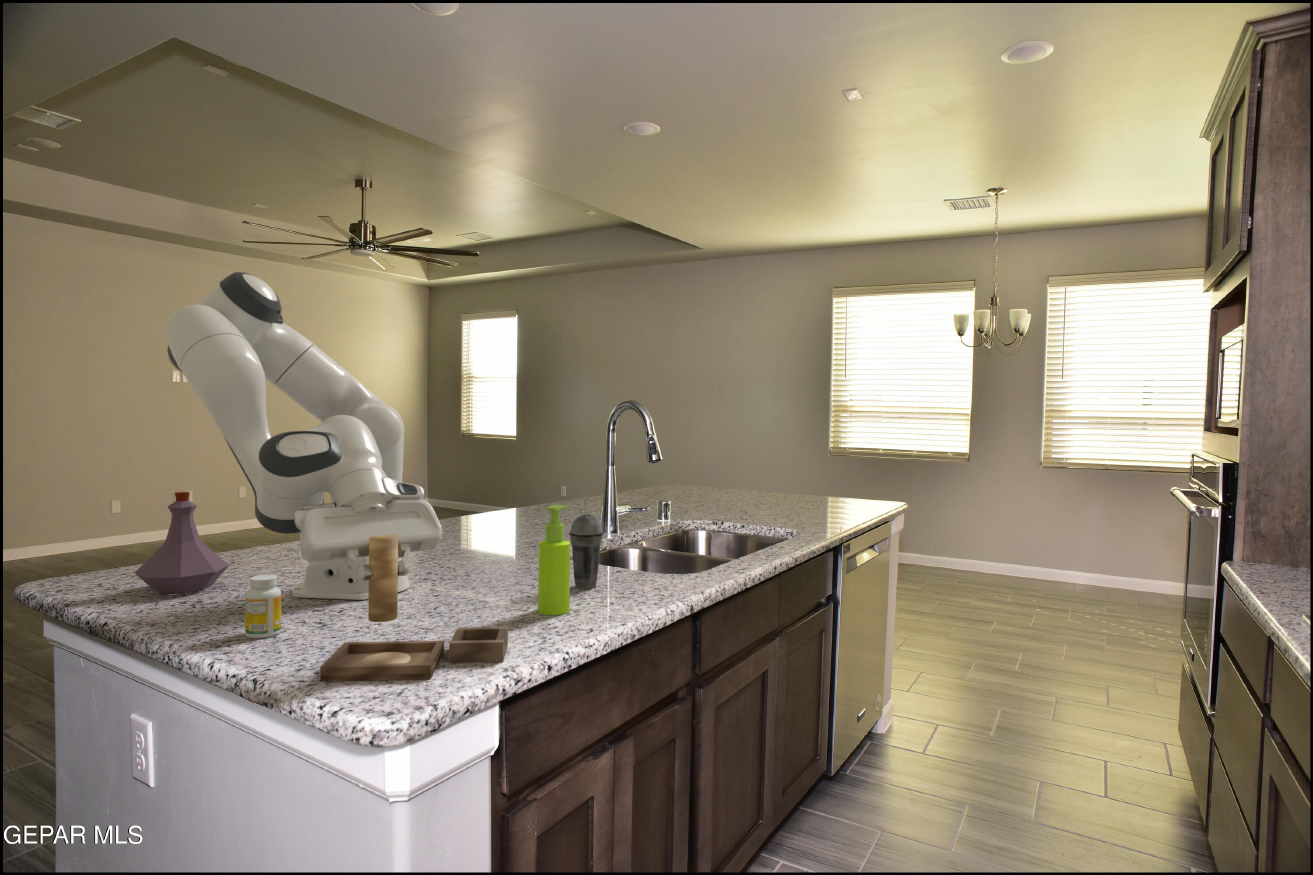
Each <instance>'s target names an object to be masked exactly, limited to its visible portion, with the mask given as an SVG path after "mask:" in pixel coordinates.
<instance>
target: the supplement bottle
mask: <svg viewBox="0 0 1313 875" xmlns="http://www.w3.org/2000/svg"><path fill="white" fill-rule="evenodd" d="M277 584H278V576H277V575H275V574H257V575H254V576H251V577H250V578H249V586H250V589H249V590H248V591H247V592H246V593H245V596H244V599H245V600H244V635H245V636H246V637H247V638H248V639H267V638H271V637H274V636H276V635H278V634H279V633H281V631H282V591H281V589H280V588H279V587H276V586H277Z"/></svg>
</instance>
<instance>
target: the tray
mask: <svg viewBox="0 0 1313 875" xmlns="http://www.w3.org/2000/svg"><path fill="white" fill-rule="evenodd" d="M444 655H445V640H408V641H407V640H404V641H403V640H402V641H401V640H399V641H398V640H397V641H396V640H394V641H389V640H388V641H345V642H343V643H342V644H341V645H340V646H339V647H338V649H337V650H335V652H333V654H331V655H330V656H329V657H328V659H326V661H324V663H323V664H321V665H320V667H319V682H322V683H323V682H358V681H359V682H362V681H399V680H400V681H402V680H406V681H408V680H411V681H412V680H431V679H432V677H433V675H434V673H435V672H436V669H437V668H438V666H439V663H440V662H441V660H442V658H443V657H444Z"/></svg>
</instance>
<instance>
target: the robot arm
mask: <svg viewBox="0 0 1313 875" xmlns="http://www.w3.org/2000/svg"><path fill="white" fill-rule="evenodd" d="M282 311H283V310H282V304H281V300H280V298H279V296H278V295H277V293H276V292H275V291H274V289H272V287H271V286H270V285H269V284H267V282H266V281H264V280H262V279H260V278H259V277H256V276H255V275H253V274H251V273H248V272H242V271H234V272H233V273H231V274H228V275H227V276H226V277H224V278H223V279H222V280H220V281H219V285H218V286H217V287H215V288H214V289H213V290H211V292H210V293H208V294H207V295H206V296H205V297H204V298H203V299H202V300H201V301H199V303H198V304H192V305H187V306H183V307H181V308H179V309H177V310H176V311H174V312H173V314H171V315H170V316H169V318H168V320H167V321H166V324H165V327H164V328H165V330H164V332H165V337H166V338H165V339H166V341H167V344H168V345H167V355H168V360H169V361H170V363H171V364H172V365H173V367H174V368H176V369H177V370H178V371H179V372H180V373H182V374H183V376H184V377H185V379H186V381H187V383H189V385H190V386H191V388H192V390H193V391H194V392H195V394H196V395H197V397H198V398H199V400H200V401H201V403H202V404H203V406H204V407H205V409H206V410H207V412H208V413H209V415H210V417H211V418H212V420H213V422H214V424H215V425H216V426H217V428H218V430H219V431H220V432H221V434H222V436H223V438H224V439H225V442H226V444H227V445H228V447H229V450H230V451H231V452H232V455H233V456H234V458H235V460H236V462H237V464H238V465H239V467H240V469H241V471H242V472H243V474H244V477H245V478H246V480H247V481H248V483H249V485H250V487H251V489H252V492H253V494H254V514H255V518H256V521H258V523H259V524H260V525H261V526H262V527H264V528H265V529H267V530H269V531H271V532H274V533H279V534H298V533H300V540H299V541H300V542H299V543H300V554H301V556H302V558H303V559H304V560H305V561H307V562H308V564H307V566H306V568H305V573H304V581H303V580H302V581H300V582H299V583H297V584H296V585H294V586H293V588H292V589H291V590H292V591H291V595H292V596H293V598H306V599H309V598H311V599H328V600H329V599H331V600H332V599H335V600H357V601H361V600H362V601H363V600H369V580H370V579H371V578H370V577H371V576H372V571H371V570H370V568H371V567H370V564H369V537H371V536H377V535H395V536H398V593H399V592H403V591H405V590H407V589H409V588H410V587H411V584H410V583H411V582H410V580H409V576H408V573H409V572H410V568H409V564H408V559H409V556H410V553H415V552H423V551H432V550H433V551H434V550H435V549H436V548H437V547H438V545H439V544H440V542H441V539H442V538H443V529H442V525H441V523H440V520H439V518H438V516H437V514H436V512H435V510H434V508H433V506H432V504H430V503H429V502H428V501H427V500H426V499H425V500H424V496H425V490H424V488H423V487H422V486H420V485H418V484H413V483H409V482H403V474H404V472H403V470H404V450H405V449H404V448H405V447H404V446H405V444H404V443H405V426H404V425H405V423H404V421H403V418H402V416H401V414H399V412H398V411H397V409H395V408H394V407H392V406H391V405H388V404H386V403H385V402H384V401H383V400H382V399H381V398H380V397H378V396H377V395H376V394H374V393H373V392H372V391H371V390H370V389H368V388H367V387H366V386H365V384H363V383H361V382H360V381H359V380H358V379H357V378H356V377H354V376H353V375H352V374H351V373H350V372H349V371H348V370H346V369H345V368H344V367H343V366H341V365H340V364H339V363H338V362H337V361H335V360H334V359H333V358H332V357H331V356H329V355H328V354H327V353H326V352H324V351H323V350H322V349H321V348H319V347H318V346H317V345H316V344H314V343H313V342H312V341H311V340H310V339H308V338H307V337H306V336H304V335H303V334H302V333H300V332H298V331H297V330H295V329H294V328H292V327H291V326H290V325H287V324H286V323H284V317H283V315H282ZM266 380H267V381H269V382H270V383H271V384H272V385H274V386H275V388H277V389H279V391H281V392H282V393H284V395H286V396H288V397H289V398H290V399H291V400H293V401H294V402H295V403H296V404H298V405H299V406H300V407H302V408H303V409H304V410H305V411H306V412H307V413H309V414H311V415H312V416H314V417H315V419H317V420H318V421H320V423H319V424H317V425H316V426H315V427H312V428H310V429H306V430H293V431H292V430H291V431H285V432H281V433H277V434H276V435H273V436H272V435H271V432H270V428H269V424H268V414H267V384H266ZM325 493H328V494H329V496H330V499H331V502H329V503H325V501H324V500H325V499H324V494H325Z"/></svg>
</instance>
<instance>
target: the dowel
mask: <svg viewBox="0 0 1313 875" xmlns="http://www.w3.org/2000/svg"><path fill="white" fill-rule="evenodd" d="M369 564H370V567H371V568H370V570H371V571H372V576H371V577H370V578H371V579H370V580H369V599H368V608H367V610H368V614H367V615H368V617H367V618H368V621H370V622H372V623H385V622H391V621H395V620H396V619H398V597H399V596H398V593H399V592H398V536H395V535H377V536H371V537H369Z"/></svg>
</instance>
